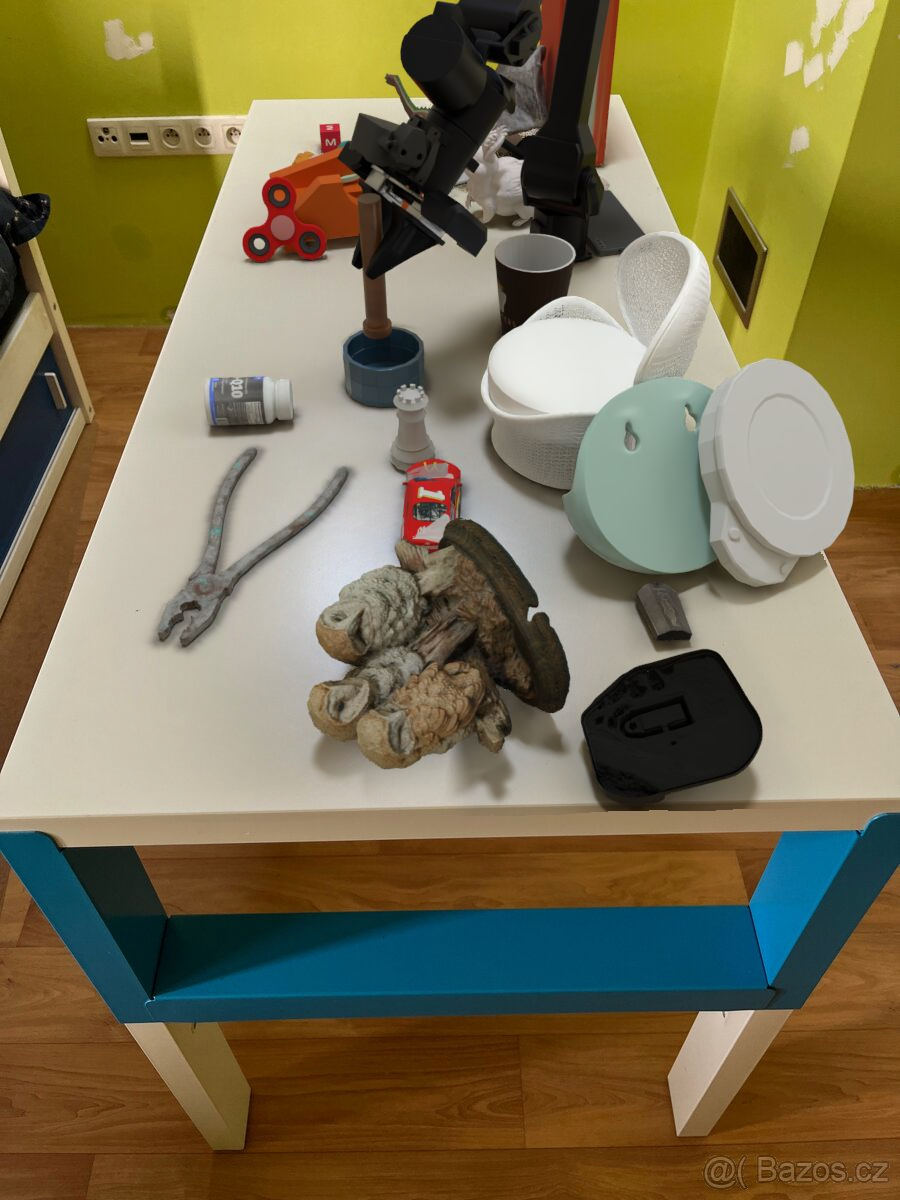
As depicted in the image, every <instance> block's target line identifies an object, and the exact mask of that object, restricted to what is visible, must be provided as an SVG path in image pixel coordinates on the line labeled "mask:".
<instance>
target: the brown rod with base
mask: <svg viewBox="0 0 900 1200" xmlns="http://www.w3.org/2000/svg"><path fill="white" fill-rule="evenodd" d="M357 201H358V215H359V229H360V243H361V256H362V269H361V270H362V283H363V296H364V297H363V298H364V312H365V319H363V321H362V330H363V333H364V335H365V336H367V337H369V338H372V339H382V338H385V337H387V336H389V335H390V334H391V333H392V326H393V322H392V320H391V319H390V318H389V315H388V301H387V300H388V299H387V283H386V273H384V274H383V275H381V276H379V277H378V278H376V279H374V280H371V279H369V278H368V277H367V276H365V271H366V269H367V267H368V265H369V263H370V261H371V259H372V257H373V255H374V253H375V252H376V250H377V248H378V246H379V245H380V243H381V241H382V239H383V226H382V208H381V197H380V196H379V195H377V194H374V193H366V194H362V195H360V196H359V197H358V198H357Z"/></svg>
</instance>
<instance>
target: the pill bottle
mask: <svg viewBox="0 0 900 1200" xmlns="http://www.w3.org/2000/svg"><path fill="white" fill-rule="evenodd" d="M293 397H294V394H293V385H292V380H291V379H281V378H280V379H276V380H275V381H273V380H272V378H271V377H269V376H266V375H265V376H264V375H263V376H231V377H207V379H205V381H204V386H203V402H204V410H205V415H206V421H207V423H208V424H209V425H210V426H217V427H218V426H243V425H245V426H246V425H270V424H273V422H275V419H278V420H279V421H289V420H293V419H294V398H293Z"/></svg>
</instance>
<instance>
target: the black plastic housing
mask: <svg viewBox="0 0 900 1200" xmlns="http://www.w3.org/2000/svg"><path fill="white" fill-rule="evenodd" d="M580 725H581V729H582V732H583V736H584V739H585V743H586V745H587V749H588V755H589V758H590V762H591V765H592V768H593V773H594V778H595V779H596V782H597V785H598V787H599V789H600V790H601V792H602V793H603V794H604V795H605V797H607V798H608V799H611V800H612V801H613V802H614V801H615V802H617V803H620V804H622V805H626V806H633V807H639V806H640V807H641V806H648V805H654V804H657V803H660V802H663V801H664V800H665V798H666V796H667V795H670V794H673V793H678V792H681V791H685V790H689V789H694V788H697V787H701V786H705V785H708V784H709V785H710V784H712V783H717V782H720V781H724V780H727V779H731V778H733V777H736V776H738V775H740V774H741V773H742V772H744V771H745V770H747V768H748V767H749V766H750V765H751V764H752V763H753V761H754V760H755V758H756V757H757V754H758V753H759V750H760V749H761V746H762V743H763V737H764V731H763V730H764V729H763V728H764V727H763V723H762V719H761V717H760V715H759V713H758V711H757V709H756V708H755V706H754V705H753V704H752V702H751V701H750V699H749V697H748V695H746V692H745V691H744V689H743V686H742V685H741V684H740V682H739V680H738V679H737V677H736V676H735V674H734V673H733V671H732V669H731V668H730V666H729V665H728V663H727V661H726V660H725V659H724V657H723V656H722V655H721V654H720V653H719V652H717V651H716V650H713V649H711V648H701V649H696V650H692V651H686V652H682V653H679V654H676V655H673V656H669V657H666V658H662V659H659V660H654V661H651V662H647V663H643V664H640V665H636V666H635V667H632V668H631V669H629V670H628V671H626V672H624V673H622V674H621V675H619V676H618V677H616V679H615V680H614V681H612V683H611V684H609V685H608V686H607V687H606V688H605V689H604V690H603V691H602V692H601V693H599V694H598V695H597V696H596V697H595V698H594V699H593V701H592V702H591V703H590V704H588V706H587V707H586V708H585V709H584V710H583V712H581V715H580Z"/></svg>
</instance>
